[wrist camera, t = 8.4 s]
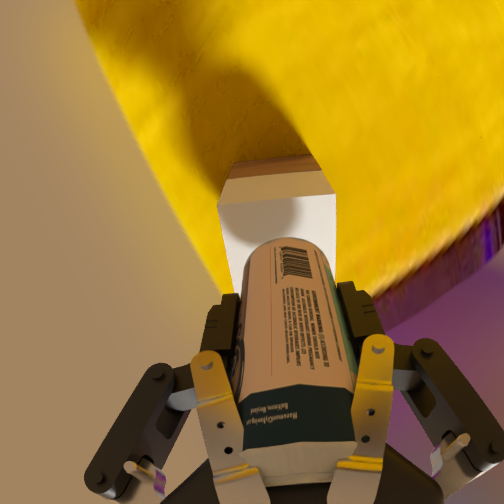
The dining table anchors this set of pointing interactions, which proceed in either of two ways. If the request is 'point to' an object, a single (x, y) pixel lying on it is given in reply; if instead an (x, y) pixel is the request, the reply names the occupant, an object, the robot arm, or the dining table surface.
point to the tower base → (274, 166)
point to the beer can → (293, 365)
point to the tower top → (276, 215)
